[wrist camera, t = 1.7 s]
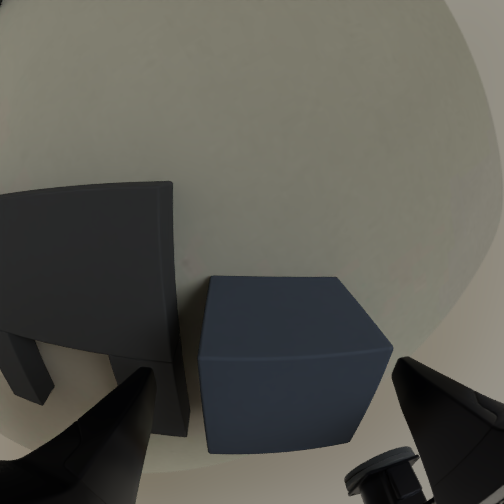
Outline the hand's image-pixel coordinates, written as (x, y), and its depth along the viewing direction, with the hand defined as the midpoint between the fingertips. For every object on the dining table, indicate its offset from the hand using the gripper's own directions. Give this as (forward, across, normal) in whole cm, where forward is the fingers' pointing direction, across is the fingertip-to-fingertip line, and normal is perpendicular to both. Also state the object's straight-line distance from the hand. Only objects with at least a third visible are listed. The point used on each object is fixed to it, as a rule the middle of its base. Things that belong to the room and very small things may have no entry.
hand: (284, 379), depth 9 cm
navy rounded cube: (+3, 0, 0) cm, 3 cm away
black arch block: (+3, +10, 0) cm, 11 cm away
